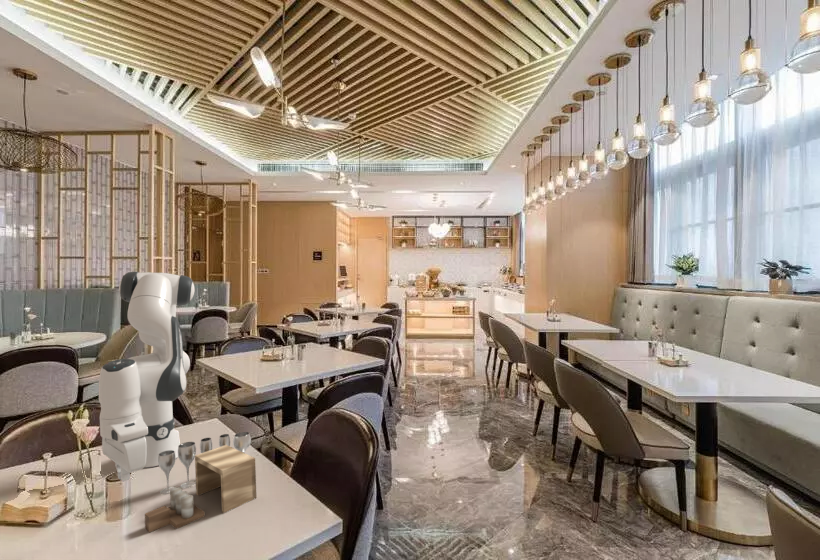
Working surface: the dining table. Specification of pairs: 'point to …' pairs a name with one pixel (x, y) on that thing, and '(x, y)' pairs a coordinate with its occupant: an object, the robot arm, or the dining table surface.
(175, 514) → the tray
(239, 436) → the goblet set
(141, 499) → the dining table surface
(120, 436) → the robot arm
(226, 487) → the wooden stand
